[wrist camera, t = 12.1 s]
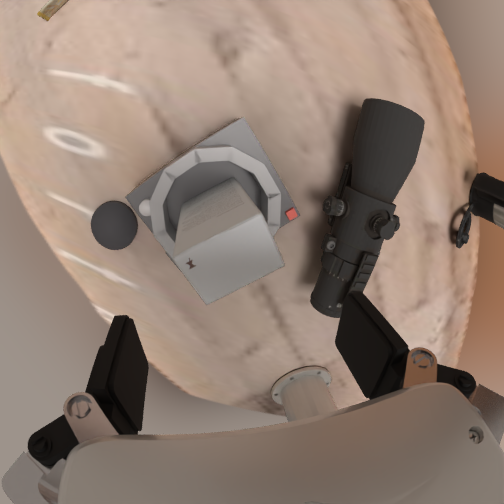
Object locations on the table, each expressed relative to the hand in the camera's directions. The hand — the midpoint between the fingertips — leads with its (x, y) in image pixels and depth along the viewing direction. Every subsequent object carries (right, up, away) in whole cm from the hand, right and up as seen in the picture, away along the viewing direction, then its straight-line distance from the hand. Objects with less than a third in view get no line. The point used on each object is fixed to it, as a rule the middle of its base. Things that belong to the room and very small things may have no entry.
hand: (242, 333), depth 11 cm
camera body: (-4, +10, +20) cm, 23 cm away
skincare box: (-3, +8, +16) cm, 18 cm away
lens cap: (-16, +7, +19) cm, 26 cm away
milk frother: (+44, +12, +28) cm, 53 cm away
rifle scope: (+13, +10, +23) cm, 28 cm away
